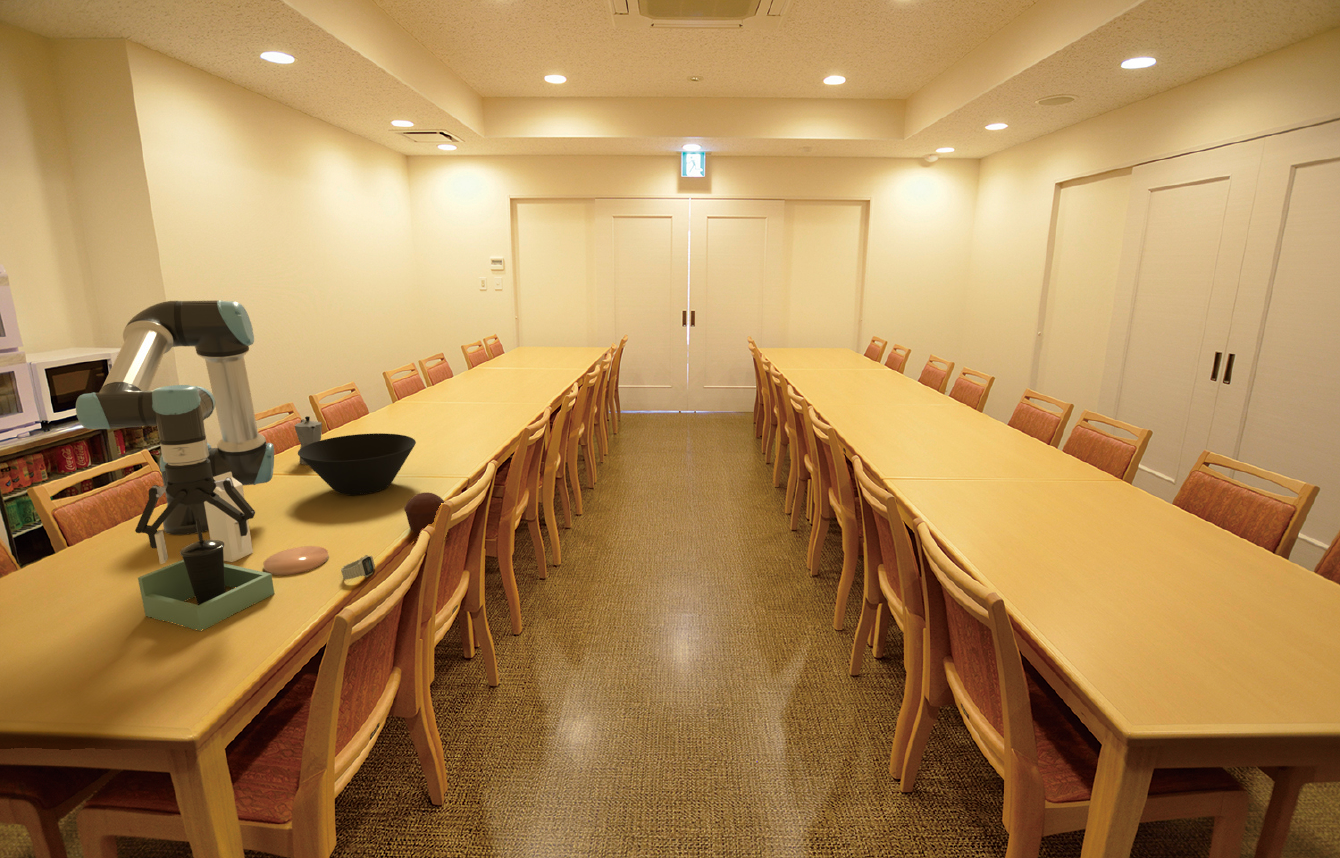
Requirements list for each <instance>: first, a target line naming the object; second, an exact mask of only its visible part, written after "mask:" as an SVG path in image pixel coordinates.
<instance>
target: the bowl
mask: <svg viewBox="0 0 1340 858" xmlns="http://www.w3.org/2000/svg"><path fill="white" fill-rule="evenodd" d="M416 443H417V442H416V440H415V438H413V437H411V436H407V435H404V434H398V433H379V432H378V433H377V432H376V433H375V432H374V433H359V434H349V435H348V434H347V435H343V436H342V435H341V436H336V437H330V438H325V439H321V440H320V441H317V442H314V443H311V444H308V445H306V446H304V447H302V448H301V449H300V448H299V450H298V451H297V455H298V456H299V458H300V457H301V458H302V459H303V460H304V461H305V462H306V463H307V464H308V466H309V467H310V468H311V469H312V470H313V472H315V473H316V474H317V475H318V476H319V477H320V478H321V479H322V480H323V481H324V482H325V483H326V485H328V486H329V487H330V489H332V490H333V491H335V493H338V494H340V495H341V494H342V495H346V496H347V495H348V496H358V495H359V496H360V495H369V494H373V493H377V492H379V491H382V490H385V489H386V488H388V487H389V486H390V485H391V484H392V483H393V481H394V480H395V478H396V476H397V474H398V473H399V472H400V470H401V468H402V467H403V466H404V463H405V462H406V460H407V459H408V457H409V455H410V454H411V452H412V451H413V449H414V447H415V446H416Z"/></svg>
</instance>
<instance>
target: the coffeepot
mask: <svg viewBox="0 0 1340 858" xmlns="http://www.w3.org/2000/svg"><path fill="white" fill-rule="evenodd" d="M310 419H311V418H310V416H305V417H304V419H302V418H301V420H300V422H298V423H295V425H294V431H295V433H296V436H297V440H298V442H299V443H300V448H299V450H300V449H301V448H302V447H304V446H306V445H308V444H311V443H314V442H317V441H321V440H322V421H316V420H310ZM298 463H299V464H301V465H304V466H305V465H306V466H307V465H308V464H307V463H306V462H305V461H304V460H303V459H302V458H301V457H300V456H299V462H298ZM308 466H309V465H308Z"/></svg>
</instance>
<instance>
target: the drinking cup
mask: <svg viewBox="0 0 1340 858" xmlns="http://www.w3.org/2000/svg"><path fill="white" fill-rule="evenodd" d="M196 525H197V531H198V533H197V535H198V536H197V537H198V541H195V542H192V543H190V544H188V545H186V546H184V547H182V548H181V549H180V551H179V554H180V556H182V560H184V562H185V566H186V569H187V572H188V575H189V579H190V582H191V585H192V588H193V591H194V595H195V597H194V598H195V600H196V603H197V604H196V605H200V604H202V603H204V602H207V601H209V600H211V599H213V598H215V597H217V596H219V595H222V594H224V593H226V586H225V576H224V563H225V561H224V555H223V547H224V542H223V541H219V540H211V539H204V537H203V532H202V531H201V525H200V519H196Z"/></svg>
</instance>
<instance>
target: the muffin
mask: <svg viewBox="0 0 1340 858" xmlns="http://www.w3.org/2000/svg"><path fill="white" fill-rule="evenodd" d="M444 502H445V500H444V499H443V498H442V497H441V496H439V495H437V494H436V493H434V492H421V493H417V494H415V495H414V496H412V497H411V498H410V499H409V500H408V501H407V503H406V504H405V506H404V509H403V510H404V512H405V515H406V518H407V522H408V526H409V530H411V531H412V532H413V533H419V532H420V530H421V529H422V528H425V527H426V526H427V525H428V524H432V523H433V522H434V518H435V515H436V511H437V510H438V508H439V506H440V505H441V503H444ZM419 534H420V533H419Z"/></svg>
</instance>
